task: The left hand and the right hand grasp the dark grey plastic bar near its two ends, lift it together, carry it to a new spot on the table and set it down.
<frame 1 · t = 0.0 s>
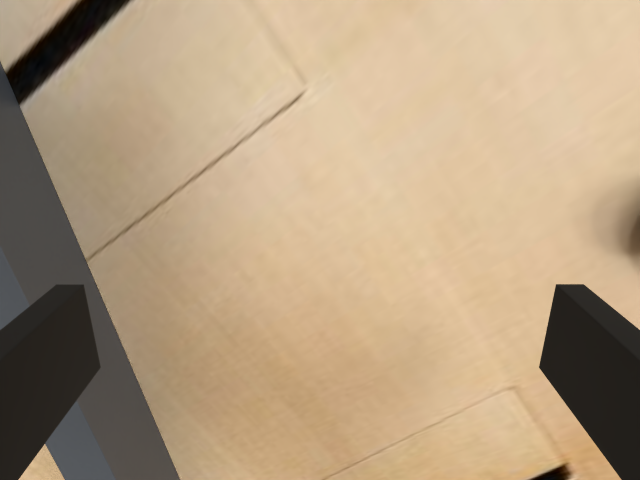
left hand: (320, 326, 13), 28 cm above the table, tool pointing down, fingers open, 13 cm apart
bar: (65, 270, 43), on the table
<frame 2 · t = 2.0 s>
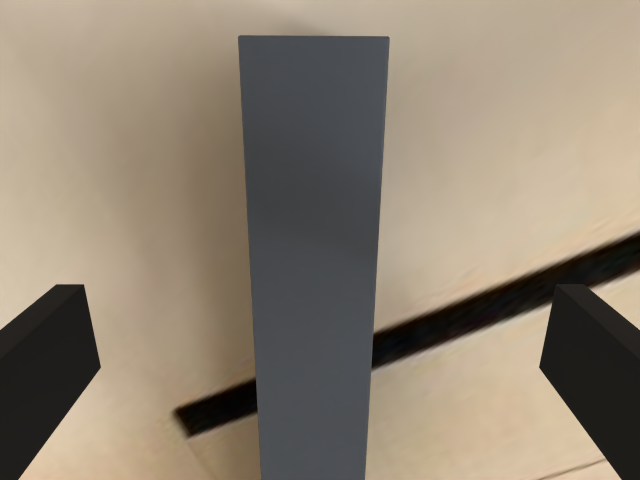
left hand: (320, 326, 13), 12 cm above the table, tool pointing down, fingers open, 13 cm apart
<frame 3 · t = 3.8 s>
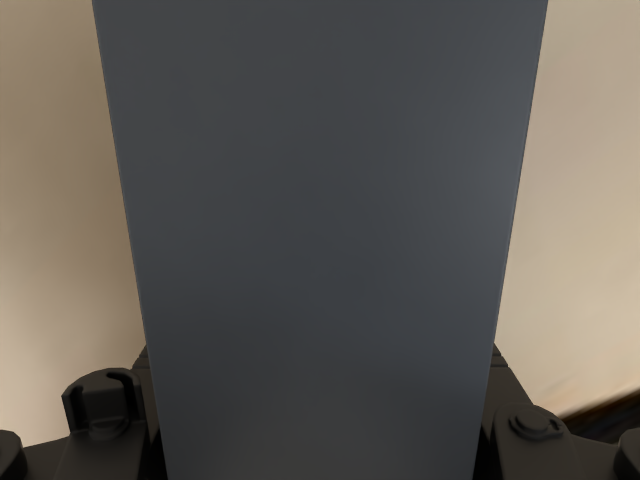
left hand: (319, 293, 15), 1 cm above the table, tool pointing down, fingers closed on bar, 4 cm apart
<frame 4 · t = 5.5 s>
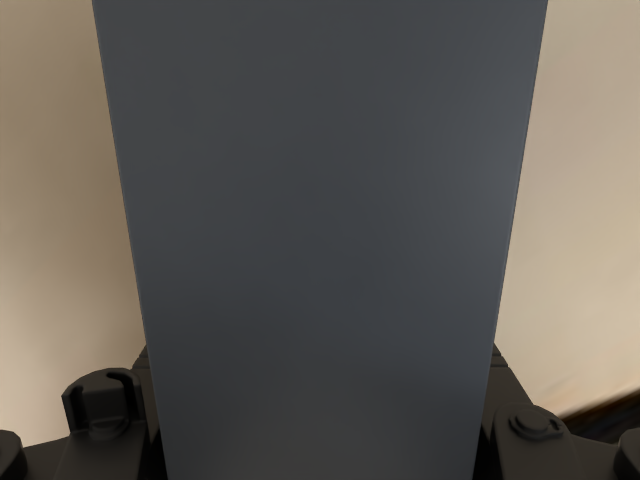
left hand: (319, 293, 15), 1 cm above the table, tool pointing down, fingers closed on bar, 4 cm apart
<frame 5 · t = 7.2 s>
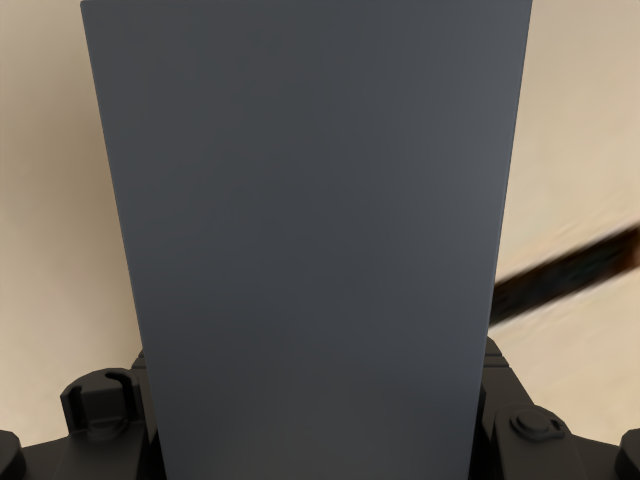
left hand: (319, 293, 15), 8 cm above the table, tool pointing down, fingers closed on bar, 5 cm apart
when the left hand's fingers open (2 cm above the table, at t = 9.1 s): bar drops 1 cm, on the table.
when the right hand's fingers open (2 cm above the table, at t = 9.1 s): bar drops 1 cm, on the table.
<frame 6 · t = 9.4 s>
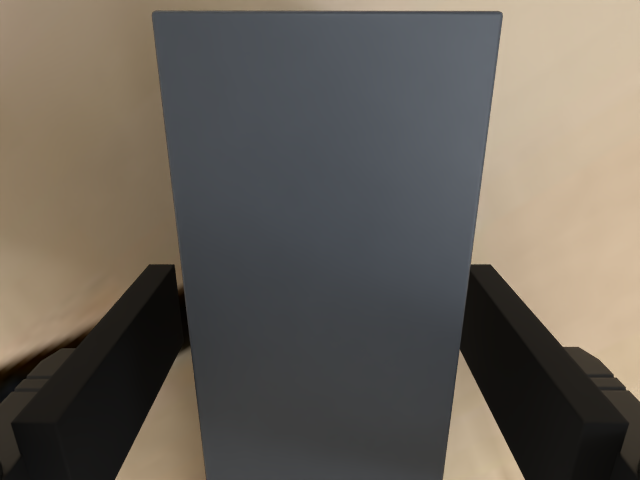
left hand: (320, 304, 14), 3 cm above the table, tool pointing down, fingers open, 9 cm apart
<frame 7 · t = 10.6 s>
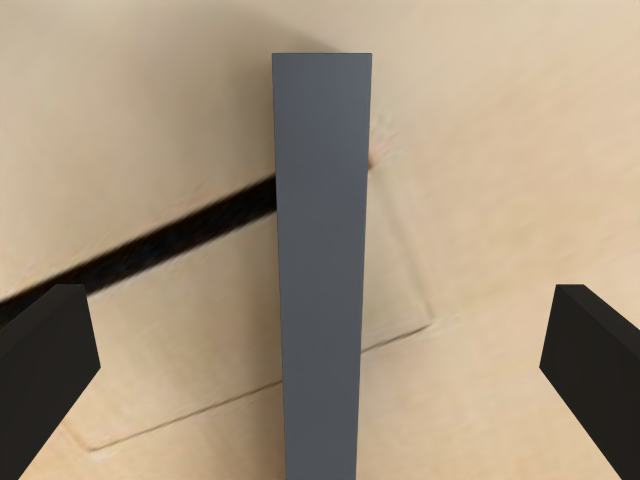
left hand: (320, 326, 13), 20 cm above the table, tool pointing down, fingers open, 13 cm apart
bar: (320, 466, 40), on the table
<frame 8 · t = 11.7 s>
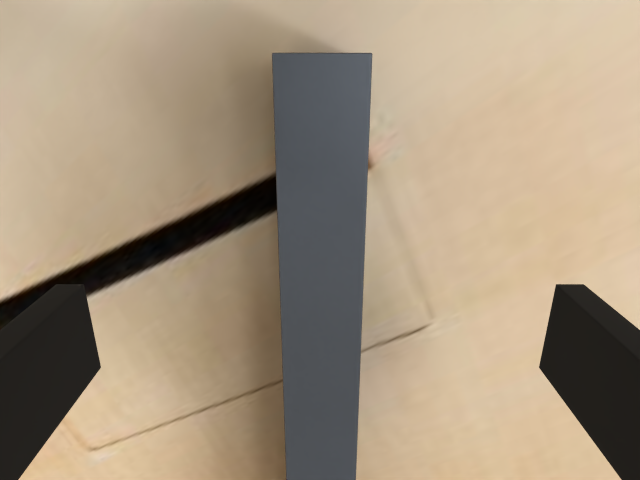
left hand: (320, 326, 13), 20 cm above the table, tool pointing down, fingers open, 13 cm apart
bar: (320, 466, 40), on the table
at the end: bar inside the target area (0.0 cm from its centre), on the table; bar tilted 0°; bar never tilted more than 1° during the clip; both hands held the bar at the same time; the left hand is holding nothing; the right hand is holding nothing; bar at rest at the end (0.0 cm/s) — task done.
